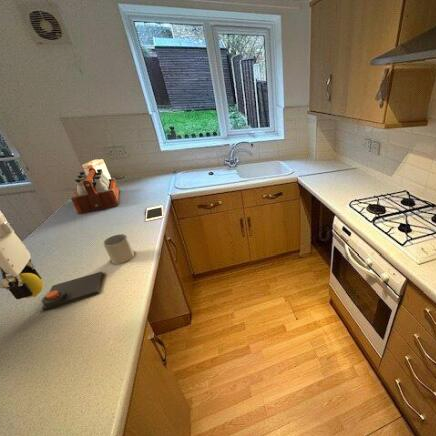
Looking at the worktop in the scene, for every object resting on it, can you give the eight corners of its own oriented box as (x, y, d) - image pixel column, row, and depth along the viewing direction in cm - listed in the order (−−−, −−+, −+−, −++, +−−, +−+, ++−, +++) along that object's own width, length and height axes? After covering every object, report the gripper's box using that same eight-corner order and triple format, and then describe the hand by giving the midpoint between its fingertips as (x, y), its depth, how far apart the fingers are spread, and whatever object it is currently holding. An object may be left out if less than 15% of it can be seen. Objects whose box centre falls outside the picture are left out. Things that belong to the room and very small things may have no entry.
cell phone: (162, 206, 150) (162, 205, 149) (163, 218, 135) (163, 217, 135) (147, 209, 146) (146, 208, 146) (146, 222, 132) (145, 220, 132)
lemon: (17, 306, 63) (-2, 284, 59) (27, 292, 68) (11, 270, 64) (43, 300, 65) (27, 278, 61) (52, 286, 70) (37, 265, 66)
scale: (44, 313, 79) (38, 305, 77) (55, 289, 89) (50, 282, 87) (99, 295, 85) (95, 288, 83) (103, 275, 95) (99, 268, 93)
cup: (107, 262, 102) (98, 243, 97) (125, 251, 108) (117, 233, 104) (121, 266, 99) (112, 247, 94) (139, 255, 106) (131, 236, 101)
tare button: (46, 301, 79) (44, 298, 78) (49, 295, 82) (47, 292, 81) (58, 298, 80) (56, 294, 80) (60, 292, 83) (58, 289, 82)
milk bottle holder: (120, 190, 178) (109, 164, 169) (119, 207, 152) (107, 177, 142) (84, 196, 168) (72, 170, 159) (77, 215, 142) (61, 185, 133)
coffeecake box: (104, 183, 193) (93, 159, 183) (113, 183, 193) (103, 159, 184) (92, 190, 179) (81, 164, 170) (102, 189, 180) (91, 164, 171)
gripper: (-15, 221, 62) (24, 274, 70) (-60, 257, 48) (-5, 317, 57) (24, 214, 65) (57, 266, 73) (-8, 246, 51) (36, 305, 60)
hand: (29, 288), depth 65 cm, fingers closed on lemon, 5 cm apart
